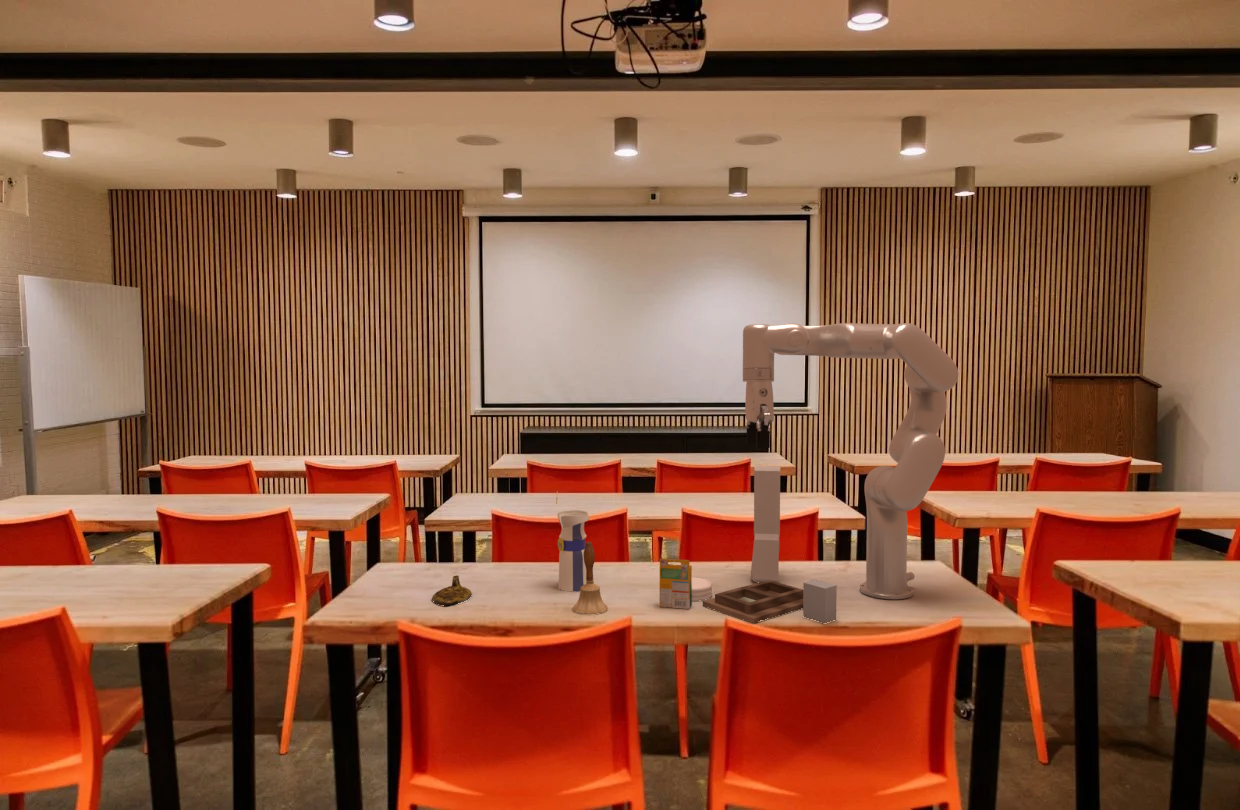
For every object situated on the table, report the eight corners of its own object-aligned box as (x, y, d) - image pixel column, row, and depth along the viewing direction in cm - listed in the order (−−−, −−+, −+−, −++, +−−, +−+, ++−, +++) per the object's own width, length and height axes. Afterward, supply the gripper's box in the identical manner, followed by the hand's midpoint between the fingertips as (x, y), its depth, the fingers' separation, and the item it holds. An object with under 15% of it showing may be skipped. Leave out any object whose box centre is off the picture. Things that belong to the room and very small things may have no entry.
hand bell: (595, 617, 178) (594, 547, 177) (565, 611, 182) (564, 543, 181) (614, 607, 185) (614, 540, 184) (585, 601, 189) (585, 536, 188)
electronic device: (779, 585, 203) (780, 469, 201) (750, 583, 204) (750, 469, 203) (779, 572, 215) (780, 463, 213) (751, 571, 216) (752, 462, 215)
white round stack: (720, 595, 195) (720, 581, 194) (695, 605, 187) (695, 590, 187) (687, 588, 201) (687, 574, 201) (663, 596, 194) (663, 582, 194)
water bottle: (563, 594, 196) (563, 494, 194) (552, 585, 203) (551, 489, 202) (594, 590, 199) (593, 492, 198) (582, 581, 207) (581, 487, 205)
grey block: (814, 613, 180) (814, 579, 179) (836, 620, 175) (836, 585, 175) (803, 617, 177) (803, 582, 177) (825, 624, 173) (825, 588, 172)
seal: (467, 612, 186) (474, 592, 201) (469, 592, 186) (475, 574, 201) (427, 608, 186) (437, 589, 201) (429, 589, 185) (439, 571, 200)
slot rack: (765, 589, 199) (765, 576, 199) (816, 604, 187) (816, 591, 186) (702, 606, 185) (702, 592, 185) (753, 623, 173) (753, 609, 173)
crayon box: (692, 605, 186) (692, 557, 185) (689, 609, 183) (689, 560, 183) (661, 603, 188) (661, 555, 187) (659, 607, 185) (659, 558, 184)
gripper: (783, 376, 182) (782, 449, 183) (764, 374, 199) (763, 442, 200) (751, 376, 181) (751, 450, 182) (735, 375, 199) (734, 442, 200)
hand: (757, 445), depth 191 cm, fingers open, 9 cm apart
